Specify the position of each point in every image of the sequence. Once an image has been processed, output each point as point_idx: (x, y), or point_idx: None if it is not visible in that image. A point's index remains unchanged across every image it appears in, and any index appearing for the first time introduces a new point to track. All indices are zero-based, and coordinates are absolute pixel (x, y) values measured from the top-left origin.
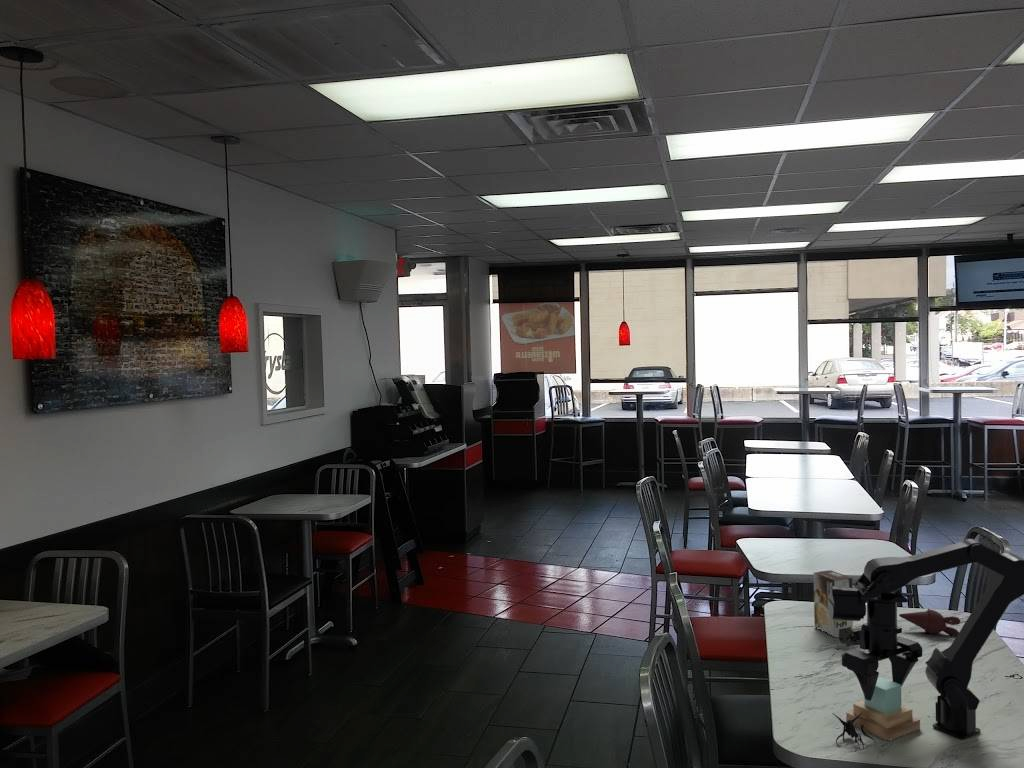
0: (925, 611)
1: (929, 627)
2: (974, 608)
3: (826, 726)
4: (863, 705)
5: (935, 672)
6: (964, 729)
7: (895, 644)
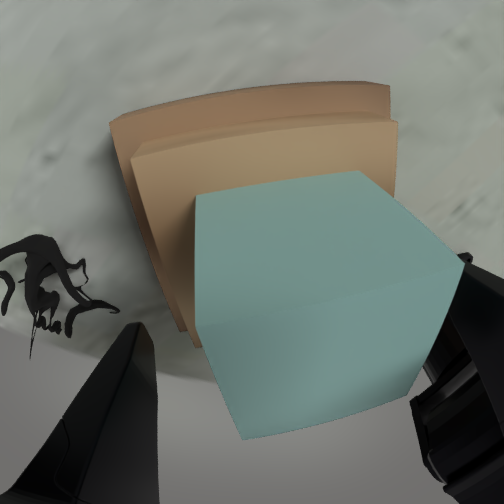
0: None
1: None
2: None
3: (18, 135)
4: (181, 201)
5: (458, 485)
6: None
7: None
